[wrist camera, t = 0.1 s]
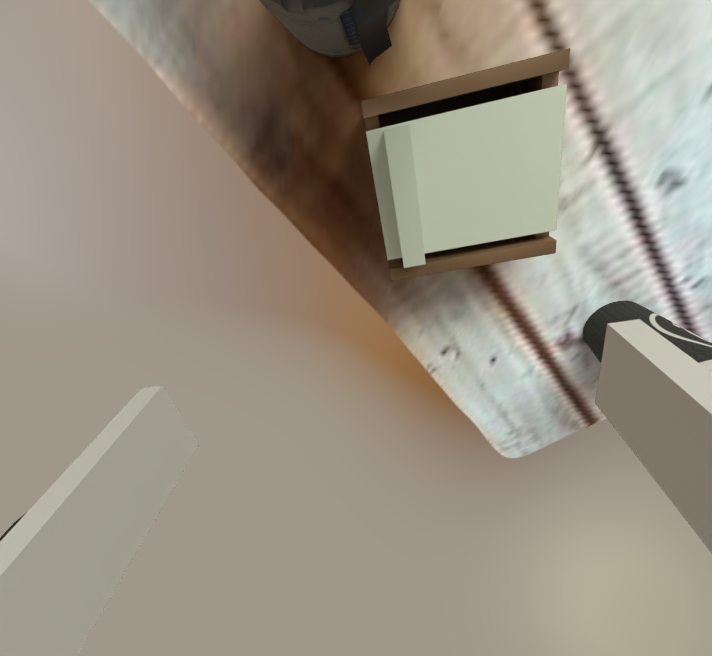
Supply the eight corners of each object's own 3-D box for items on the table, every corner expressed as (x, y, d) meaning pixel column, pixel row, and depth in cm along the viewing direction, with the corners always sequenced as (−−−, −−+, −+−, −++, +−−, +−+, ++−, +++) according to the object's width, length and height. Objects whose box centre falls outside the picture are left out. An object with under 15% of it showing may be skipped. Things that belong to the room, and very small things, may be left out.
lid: (366, 131, 25) (363, 132, 22) (558, 85, 23) (591, 77, 20) (387, 255, 30) (388, 273, 26) (550, 226, 28) (575, 241, 24)
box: (365, 107, 31) (360, 101, 23) (521, 68, 29) (569, 48, 21) (389, 250, 37) (391, 280, 29) (519, 226, 35) (555, 253, 27)
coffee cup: (588, 283, 37) (699, 367, 24) (679, 291, 37) (840, 381, 24) (556, 357, 42) (634, 460, 29) (636, 365, 42) (751, 472, 29)
